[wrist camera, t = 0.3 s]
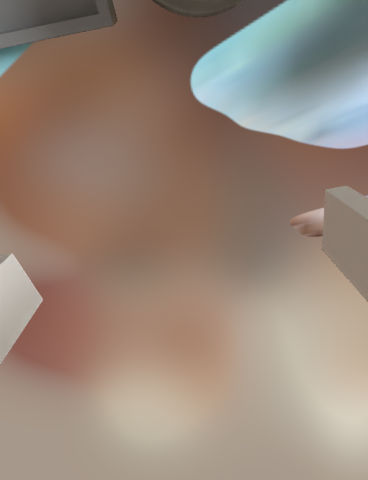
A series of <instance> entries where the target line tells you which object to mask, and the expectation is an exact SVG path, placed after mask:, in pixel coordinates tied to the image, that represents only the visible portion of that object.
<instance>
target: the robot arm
mask: <svg viewBox="0 0 368 480" xmlns="http://www.w3.org/2000/svg"><path fill="white" fill-rule="evenodd" d="M322 250H323V251H324V252H325V254H326V255H327V256H328V257H329V258H330V259H331V260H332V262H333V263H334V264H335V265H336V266H337V267H338V268H339V270H340V271H341V272H342V273H343V274H344V275H345V276H346V278H347V279H348V280H349V281H350V282H351V283H352V284H353V285H354V286H355V288H356V289H357V290H358V291H359V292H360V294H361V295H362V296H363V297H364V298H365V299H366V300H367V301H368V198H367V197H365V196H363V195H362V194H360V193H358V192H356V191H355V190H353V189H351V188H350V187H348V186H342V187H337V188H332V189H327V190H325V207H324V224H323V241H322ZM42 301H43V299H42V297H41V296H40V294H39V293H38V291H37V290H36V288H35V287H34V285H33V284H32V282H31V281H30V279H29V278H28V276H27V275H26V273H25V272H24V270H23V269H22V267H21V265H20V264H19V262H18V261H17V259H16V258H15V257H14V255H13V254H12V253H10V254H6V255H1V256H0V364H1V363H2V361H3V359H4V358H5V356H6V355H7V353H8V352H9V350H10V349H11V347H12V345H13V344H14V343H15V341H16V340H17V338H18V337H19V335H20V334H21V332H22V331H23V329H24V328H25V326H26V325H27V323H28V322H29V320H30V318H31V317H32V315H33V314H34V313H35V311H36V310H37V308H38V307H39V305H40V304H41V302H42Z"/></svg>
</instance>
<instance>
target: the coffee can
mask: <svg viewBox="0 0 368 480" xmlns="http://www.w3.org/2000/svg"><path fill="white" fill-rule="evenodd" d="M153 1H154V2H155V3H157V4H158V5H160V6H161V7H163V8H165V9H166V10H168V11H170V12H173V13H176V14H178V15H182V16H187V17H208V16H213V15H217V14H220V13H223V12H225V11H227V10H230V9H232V8H234V7H235V6H237V5H238V4H240V3H241V2H243V1H244V0H153Z"/></svg>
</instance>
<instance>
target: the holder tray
mask: <svg viewBox="0 0 368 480" xmlns="http://www.w3.org/2000/svg"><path fill="white" fill-rule="evenodd" d="M116 22H117V17H116V13H115V10H114V6H113V2H112V0H0V49H1V48H6V47H11V46H16V45H21V44H26V43H31V42H35V41H40V40H45V39H50V38H55V37H60V36H65V35H70V34H75V33H79V32H85V31H89V30H94V29H99V28H104V27H109V26H113V25H114V24H115V23H116Z"/></svg>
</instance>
